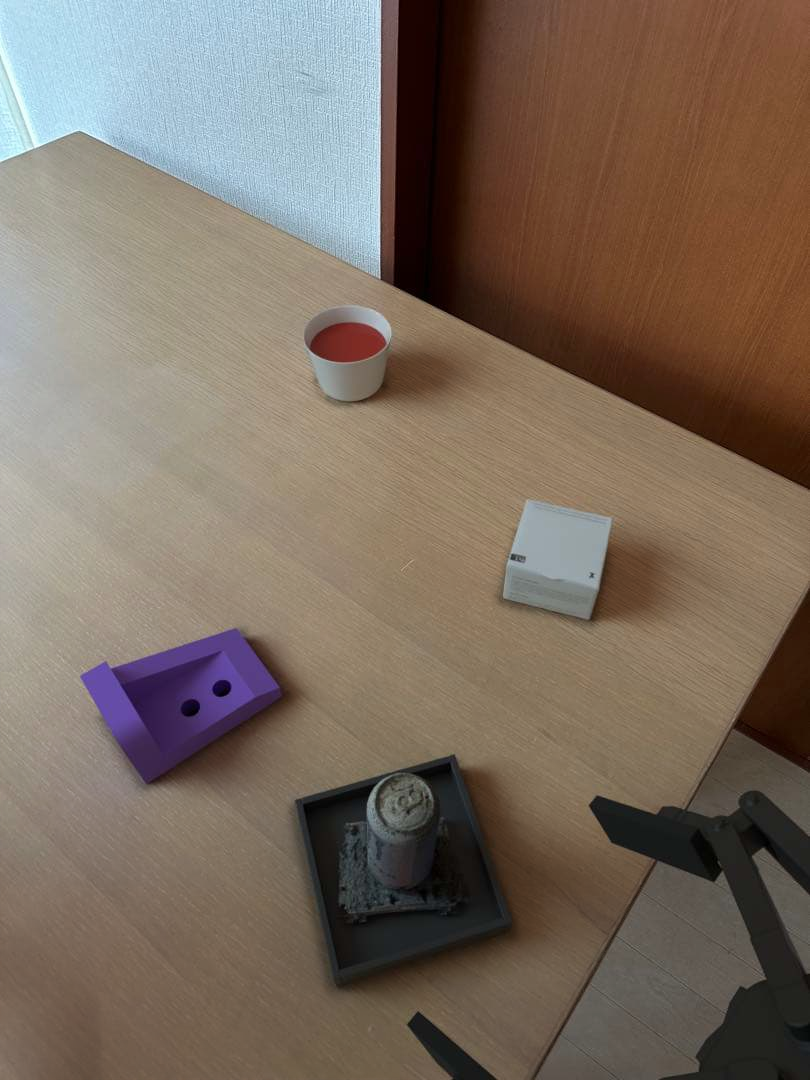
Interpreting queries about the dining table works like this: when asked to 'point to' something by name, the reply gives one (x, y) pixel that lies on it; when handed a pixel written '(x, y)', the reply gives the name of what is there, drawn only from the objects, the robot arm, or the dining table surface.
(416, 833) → the beverage can
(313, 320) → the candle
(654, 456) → the dining table surface
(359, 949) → the black tray
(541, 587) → the small box
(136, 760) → the bracket
